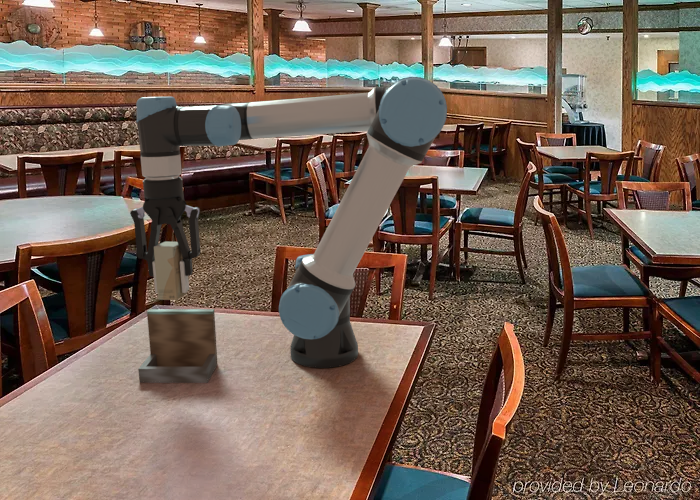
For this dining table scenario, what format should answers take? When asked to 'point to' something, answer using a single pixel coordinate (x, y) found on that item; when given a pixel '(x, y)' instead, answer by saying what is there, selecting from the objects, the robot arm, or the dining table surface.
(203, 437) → the dining table surface
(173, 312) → the cleat board
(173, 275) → the box
